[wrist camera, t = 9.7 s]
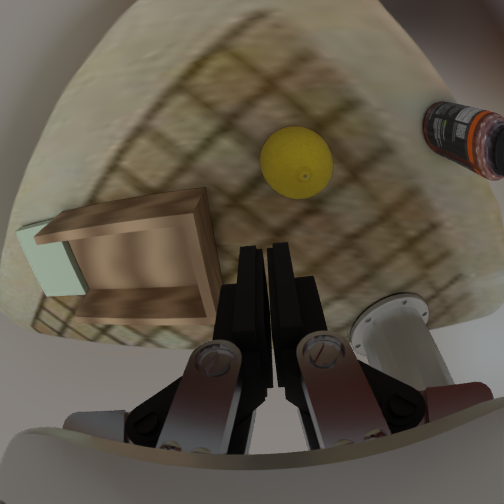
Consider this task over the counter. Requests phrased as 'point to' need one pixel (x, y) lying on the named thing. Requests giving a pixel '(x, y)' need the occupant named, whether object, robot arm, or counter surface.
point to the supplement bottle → (467, 137)
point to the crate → (144, 259)
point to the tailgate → (52, 263)
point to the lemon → (296, 162)
